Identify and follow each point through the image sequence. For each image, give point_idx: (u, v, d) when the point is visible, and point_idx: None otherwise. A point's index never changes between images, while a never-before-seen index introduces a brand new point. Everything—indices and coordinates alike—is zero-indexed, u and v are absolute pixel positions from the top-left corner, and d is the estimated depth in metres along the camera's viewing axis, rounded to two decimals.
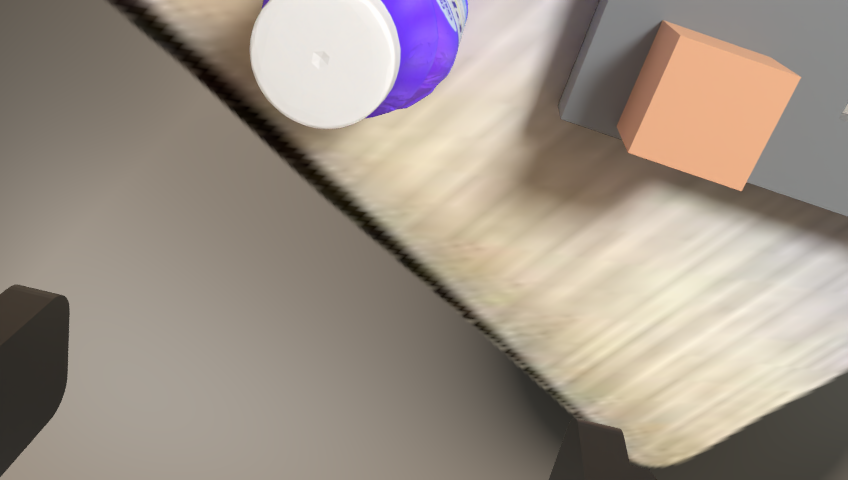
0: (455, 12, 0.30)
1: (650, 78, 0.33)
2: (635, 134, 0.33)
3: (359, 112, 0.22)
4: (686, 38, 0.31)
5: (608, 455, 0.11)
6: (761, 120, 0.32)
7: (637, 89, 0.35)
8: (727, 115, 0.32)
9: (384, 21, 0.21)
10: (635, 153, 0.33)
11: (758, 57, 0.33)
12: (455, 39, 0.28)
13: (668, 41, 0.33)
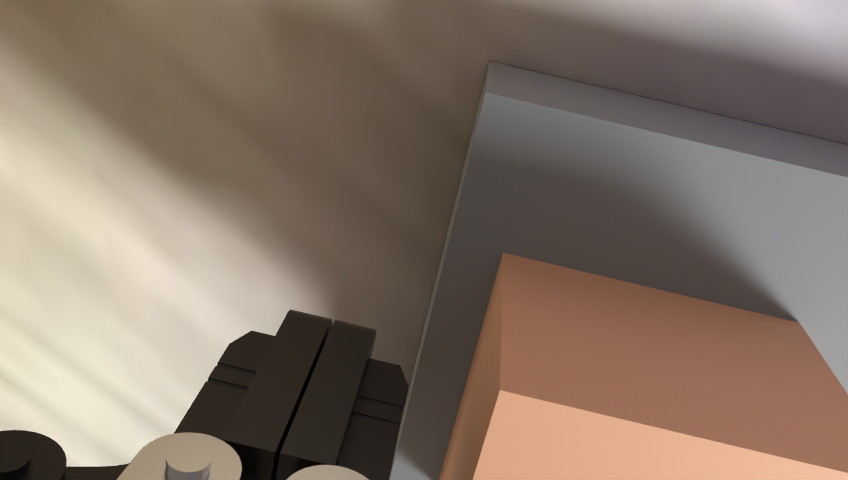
0: None
1: (702, 369, 0.11)
2: (563, 399, 0.10)
3: None
4: None
5: (350, 347, 0.12)
6: None
7: (630, 307, 0.12)
8: None
9: None
10: (499, 412, 0.10)
11: None
12: None
13: (825, 407, 0.11)
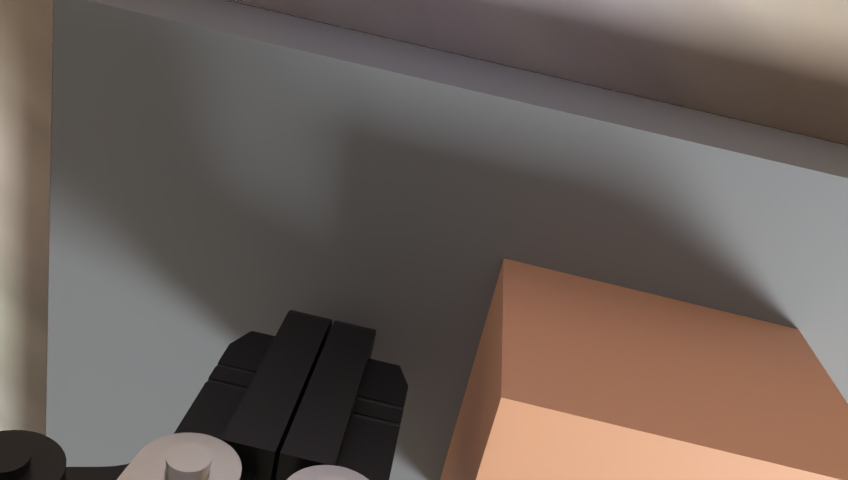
0: None
1: (702, 376, 0.11)
2: (564, 406, 0.10)
3: None
4: None
5: (350, 348, 0.12)
6: None
7: (631, 313, 0.12)
8: None
9: None
10: (501, 418, 0.10)
11: None
12: None
13: (824, 414, 0.11)
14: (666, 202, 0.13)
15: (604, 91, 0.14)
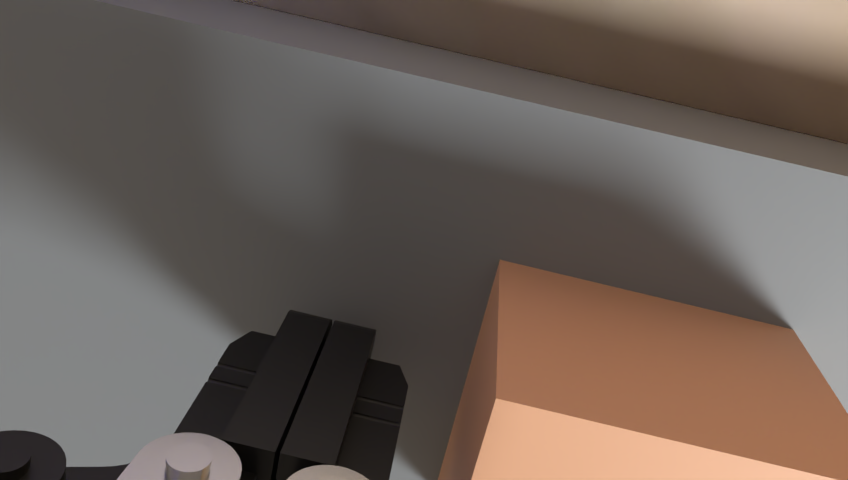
0: None
1: (696, 376, 0.11)
2: (558, 407, 0.10)
3: None
4: None
5: (350, 347, 0.12)
6: None
7: (626, 314, 0.12)
8: None
9: None
10: (496, 419, 0.10)
11: None
12: None
13: (817, 414, 0.11)
14: (332, 122, 0.13)
15: (309, 21, 0.14)
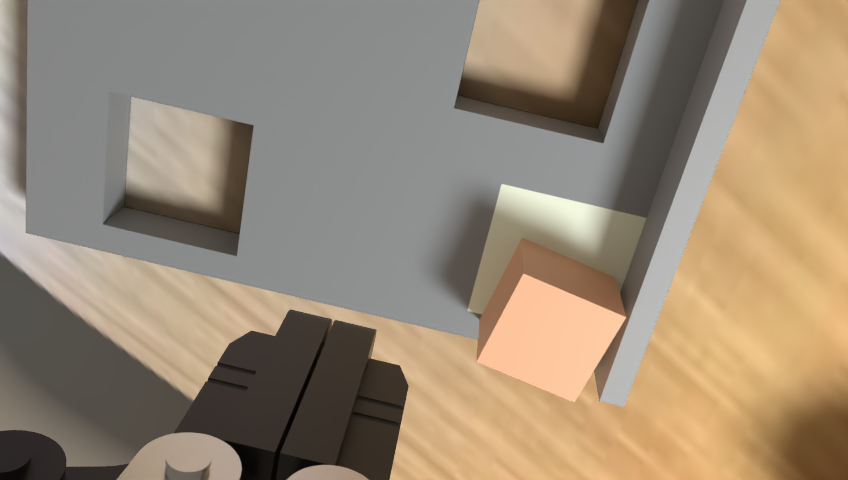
0: None
1: (579, 281, 0.37)
2: (539, 279, 0.35)
3: None
4: (622, 321, 0.36)
5: (350, 347, 0.12)
6: (540, 375, 0.37)
7: (561, 262, 0.38)
8: (548, 351, 0.37)
9: None
10: (522, 279, 0.35)
11: None
12: None
13: (612, 298, 0.37)
14: None
15: None
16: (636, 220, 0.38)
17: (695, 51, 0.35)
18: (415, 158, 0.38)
